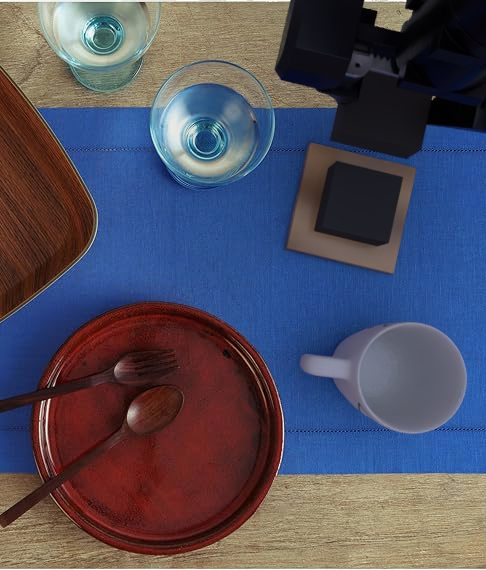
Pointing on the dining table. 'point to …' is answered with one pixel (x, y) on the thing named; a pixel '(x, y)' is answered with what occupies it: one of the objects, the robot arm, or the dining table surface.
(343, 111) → the pad top
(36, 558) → the dining table surface
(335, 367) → the mug
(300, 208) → the cork mat
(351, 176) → the pad bottom
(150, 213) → the dining table surface
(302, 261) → the dining table surface
